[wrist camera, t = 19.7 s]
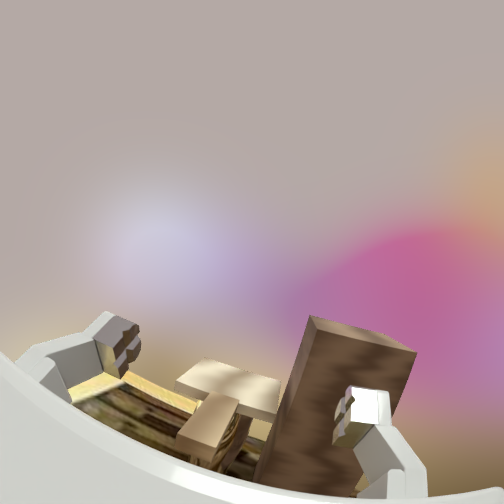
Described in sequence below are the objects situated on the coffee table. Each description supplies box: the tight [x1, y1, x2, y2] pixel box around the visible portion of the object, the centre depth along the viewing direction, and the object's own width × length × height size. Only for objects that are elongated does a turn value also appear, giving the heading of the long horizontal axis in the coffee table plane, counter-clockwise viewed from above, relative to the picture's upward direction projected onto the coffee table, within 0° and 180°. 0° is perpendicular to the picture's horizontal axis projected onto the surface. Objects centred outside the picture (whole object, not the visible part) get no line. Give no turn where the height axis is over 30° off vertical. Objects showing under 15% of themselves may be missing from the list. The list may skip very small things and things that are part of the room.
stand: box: [252, 315, 417, 498], centre depth 32 cm, size 11×12×26 cm
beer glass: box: [187, 400, 253, 475], centre depth 31 cm, size 7×7×15 cm
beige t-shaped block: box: [174, 357, 281, 463], centre depth 29 cm, size 11×21×2 cm, turn 172°
